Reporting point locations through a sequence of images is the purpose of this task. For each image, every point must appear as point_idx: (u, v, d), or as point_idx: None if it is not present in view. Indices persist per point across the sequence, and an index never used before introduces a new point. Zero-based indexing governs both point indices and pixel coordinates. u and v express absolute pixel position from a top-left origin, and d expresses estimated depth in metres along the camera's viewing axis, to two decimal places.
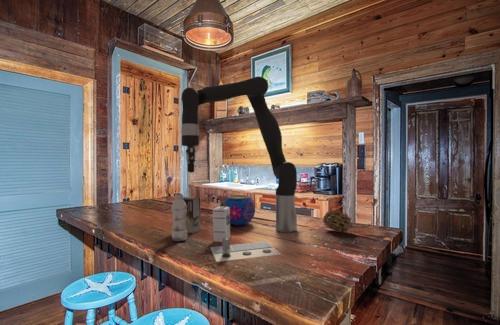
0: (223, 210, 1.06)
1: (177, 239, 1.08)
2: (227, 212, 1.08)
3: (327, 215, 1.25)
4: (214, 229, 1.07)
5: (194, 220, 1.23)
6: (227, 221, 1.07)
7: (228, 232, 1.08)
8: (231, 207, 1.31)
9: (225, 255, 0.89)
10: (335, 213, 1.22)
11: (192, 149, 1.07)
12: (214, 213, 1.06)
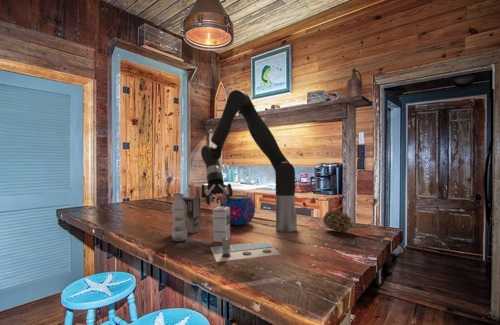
0: (223, 210, 1.06)
1: (177, 239, 1.08)
2: (227, 212, 1.08)
3: (327, 215, 1.25)
4: (214, 229, 1.07)
5: (194, 220, 1.23)
6: (227, 221, 1.07)
7: (228, 232, 1.08)
8: (231, 207, 1.31)
9: (225, 255, 0.89)
10: (335, 213, 1.22)
11: None
12: (214, 213, 1.06)
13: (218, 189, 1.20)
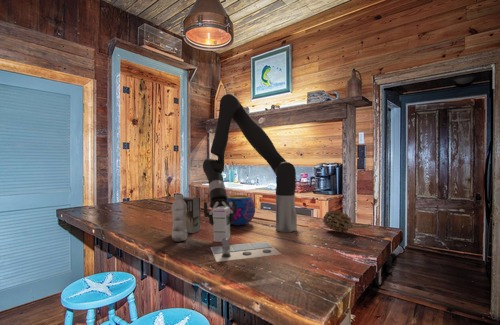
0: (223, 210, 1.06)
1: (177, 239, 1.08)
2: (227, 212, 1.08)
3: (327, 215, 1.25)
4: (214, 229, 1.07)
5: (194, 220, 1.23)
6: (227, 221, 1.07)
7: (228, 232, 1.08)
8: (231, 207, 1.31)
9: (225, 255, 0.89)
10: (335, 213, 1.22)
11: None
12: (214, 213, 1.06)
13: None
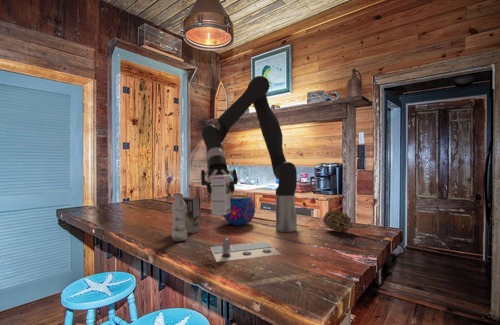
0: (222, 177, 0.95)
1: (177, 239, 1.08)
2: (227, 180, 0.96)
3: (327, 215, 1.25)
4: (212, 198, 0.95)
5: (194, 220, 1.23)
6: (227, 189, 0.96)
7: (228, 202, 0.97)
8: (231, 207, 1.31)
9: (225, 255, 0.89)
10: (335, 213, 1.22)
11: (201, 172, 1.01)
12: (212, 180, 0.95)
13: None
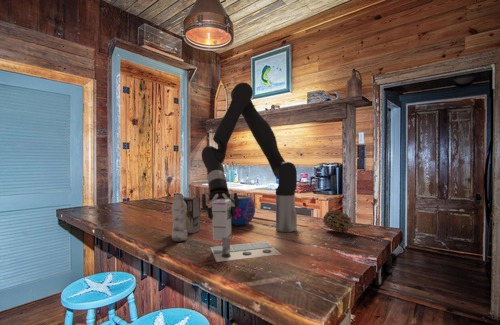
0: (224, 202, 0.94)
1: (177, 239, 1.08)
2: (228, 205, 0.95)
3: (327, 215, 1.25)
4: (213, 224, 0.94)
5: (194, 220, 1.23)
6: (228, 215, 0.95)
7: (229, 228, 0.96)
8: None
9: (225, 255, 0.89)
10: (335, 213, 1.22)
11: (202, 197, 1.00)
12: (213, 206, 0.94)
13: None
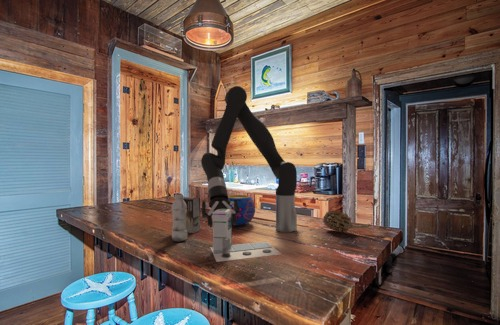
0: (224, 213, 0.94)
1: (177, 239, 1.08)
2: (228, 215, 0.96)
3: (327, 215, 1.25)
4: (214, 234, 0.94)
5: (194, 220, 1.23)
6: (228, 225, 0.95)
7: (230, 238, 0.96)
8: (231, 207, 1.31)
9: (225, 255, 0.89)
10: (335, 213, 1.22)
11: (202, 204, 1.00)
12: (214, 216, 0.94)
13: (222, 207, 1.00)
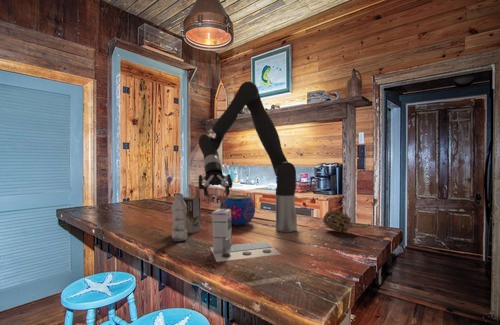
0: (224, 213, 0.94)
1: (177, 239, 1.08)
2: (228, 215, 0.96)
3: (327, 215, 1.25)
4: (214, 234, 0.95)
5: (194, 220, 1.23)
6: (228, 225, 0.95)
7: None
8: (231, 207, 1.31)
9: (225, 255, 0.89)
10: (335, 213, 1.22)
11: None
12: (214, 216, 0.94)
13: (217, 180, 1.11)
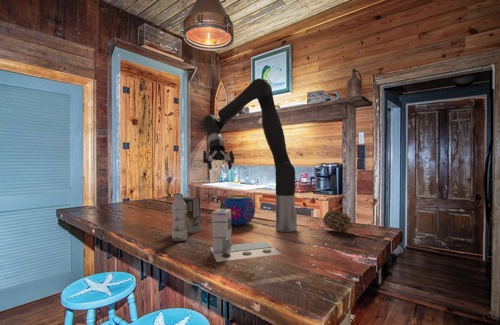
0: (224, 213, 0.94)
1: (177, 239, 1.08)
2: (228, 215, 0.96)
3: (327, 215, 1.25)
4: (214, 234, 0.95)
5: (194, 220, 1.23)
6: (228, 225, 0.95)
7: None
8: (231, 207, 1.31)
9: (225, 255, 0.89)
10: (335, 213, 1.22)
11: (203, 153, 1.20)
12: (214, 216, 0.94)
13: (220, 155, 1.20)
